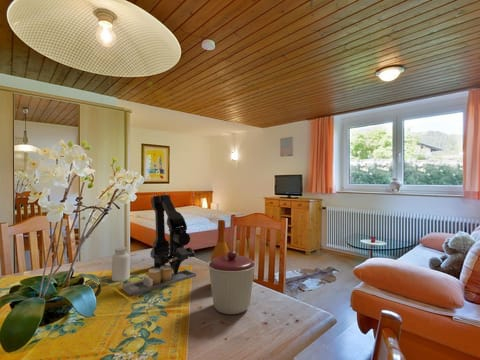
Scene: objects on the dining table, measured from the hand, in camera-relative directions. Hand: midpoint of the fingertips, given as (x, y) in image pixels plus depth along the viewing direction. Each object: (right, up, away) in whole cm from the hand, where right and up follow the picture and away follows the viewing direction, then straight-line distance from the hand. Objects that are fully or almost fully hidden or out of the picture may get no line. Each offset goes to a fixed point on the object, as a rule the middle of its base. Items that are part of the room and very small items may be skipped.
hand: (175, 274), depth 126 cm
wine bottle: (+23, -3, -8) cm, 24 cm away
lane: (-5, -3, -5) cm, 8 cm away
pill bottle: (-26, -3, 0) cm, 27 cm away
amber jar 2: (-4, -2, -4) cm, 6 cm away
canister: (+28, -3, -29) cm, 40 cm away
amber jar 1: (-8, -2, -8) cm, 11 cm away
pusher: (-13, -1, -14) cm, 19 cm away
